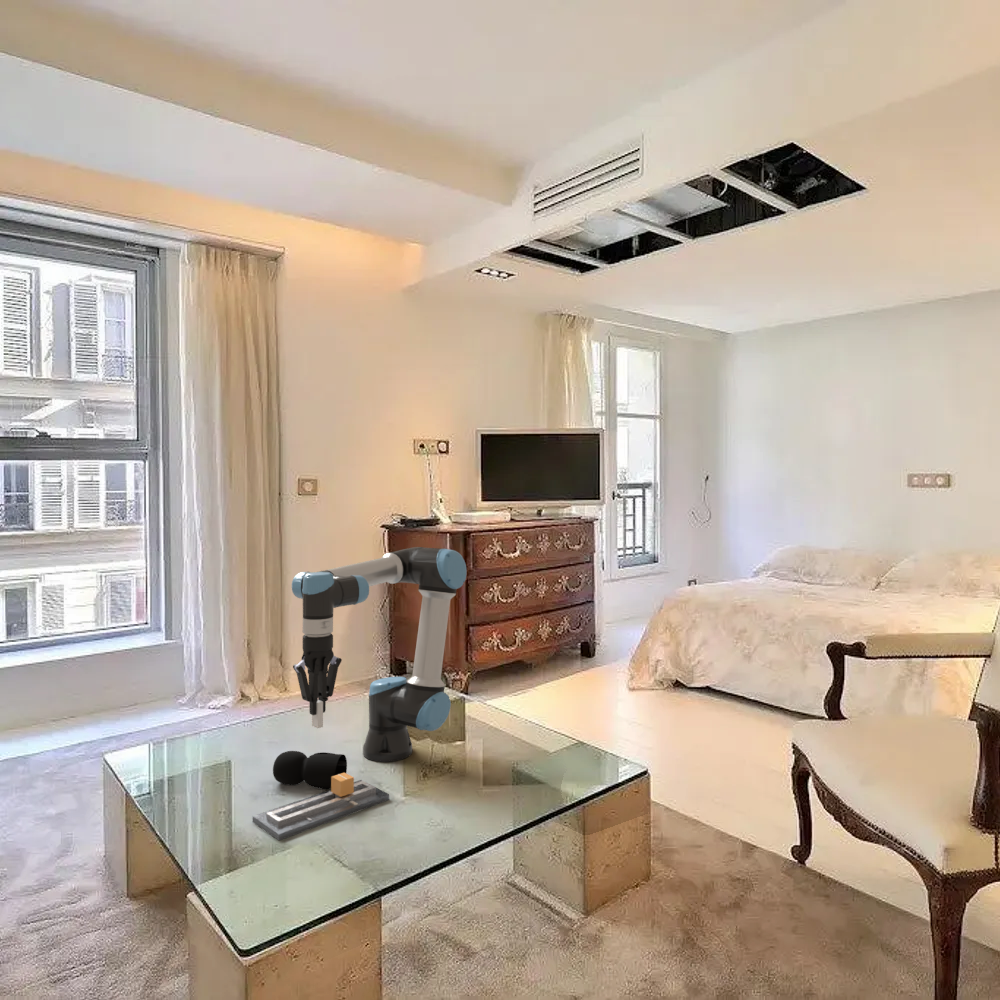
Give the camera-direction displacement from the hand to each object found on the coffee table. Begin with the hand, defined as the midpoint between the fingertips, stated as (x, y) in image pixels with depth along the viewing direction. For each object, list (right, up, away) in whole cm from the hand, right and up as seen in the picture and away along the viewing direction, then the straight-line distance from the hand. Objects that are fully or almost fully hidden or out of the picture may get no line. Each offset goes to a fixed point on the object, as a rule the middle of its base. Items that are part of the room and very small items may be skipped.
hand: (317, 726), depth 187 cm
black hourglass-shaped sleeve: (-7, -22, +18) cm, 29 cm away
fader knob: (+5, -20, +6) cm, 22 cm away
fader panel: (+1, -22, +2) cm, 22 cm away
